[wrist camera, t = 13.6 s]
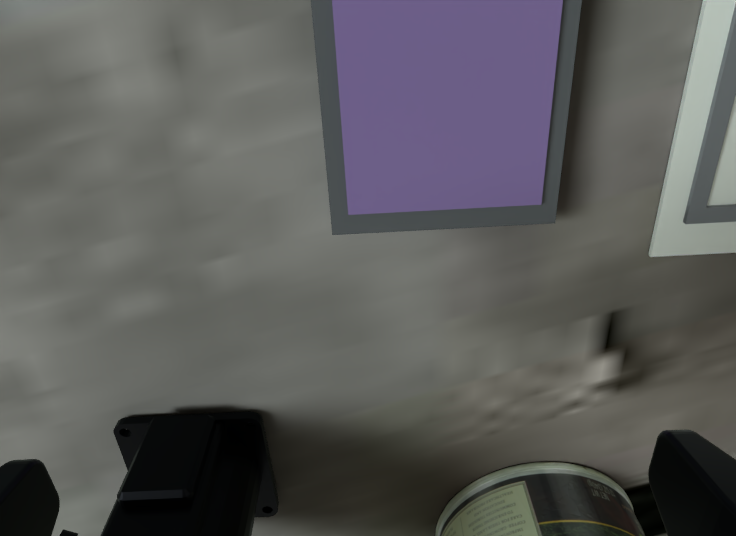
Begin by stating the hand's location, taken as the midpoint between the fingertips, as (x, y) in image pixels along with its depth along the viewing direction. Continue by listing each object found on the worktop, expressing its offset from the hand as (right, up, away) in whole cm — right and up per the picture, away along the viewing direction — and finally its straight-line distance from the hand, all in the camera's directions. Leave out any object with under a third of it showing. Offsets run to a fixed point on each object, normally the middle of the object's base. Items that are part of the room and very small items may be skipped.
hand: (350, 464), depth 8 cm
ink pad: (+3, +9, +10) cm, 14 cm away
